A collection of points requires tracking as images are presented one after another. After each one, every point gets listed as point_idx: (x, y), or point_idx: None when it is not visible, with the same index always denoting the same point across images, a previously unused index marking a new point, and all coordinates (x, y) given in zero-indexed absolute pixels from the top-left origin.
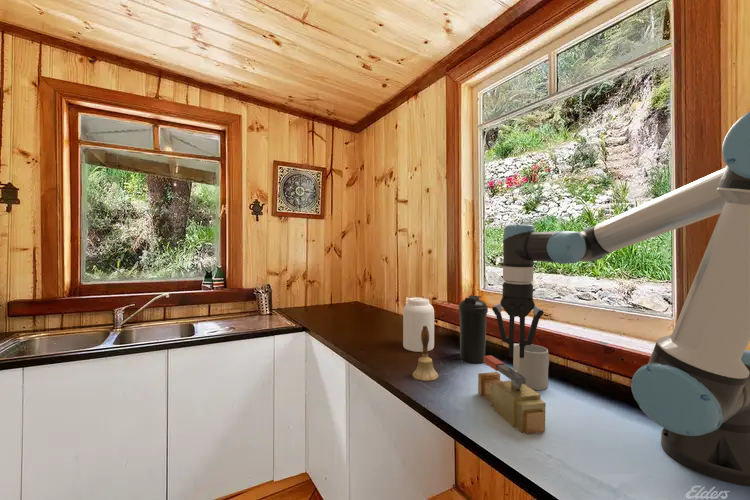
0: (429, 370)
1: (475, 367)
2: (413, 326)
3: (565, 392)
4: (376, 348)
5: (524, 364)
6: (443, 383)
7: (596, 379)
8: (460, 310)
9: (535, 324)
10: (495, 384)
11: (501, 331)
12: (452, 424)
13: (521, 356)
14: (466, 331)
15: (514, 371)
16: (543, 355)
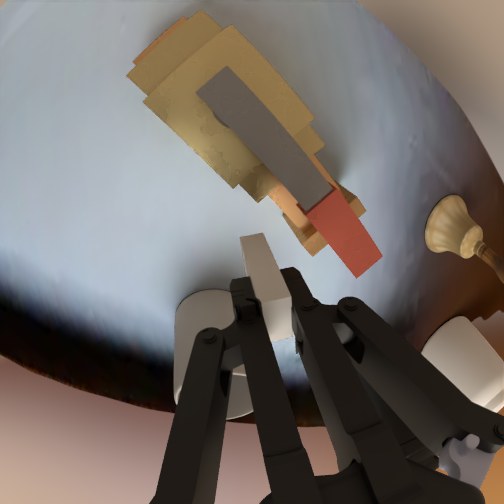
0: (453, 221)
1: None
2: (485, 351)
3: (135, 314)
4: (499, 288)
5: None
6: (414, 204)
7: (109, 389)
8: None
9: (179, 453)
10: (310, 112)
11: (389, 336)
12: (361, 7)
13: (241, 281)
14: None
15: (253, 141)
16: (181, 376)
